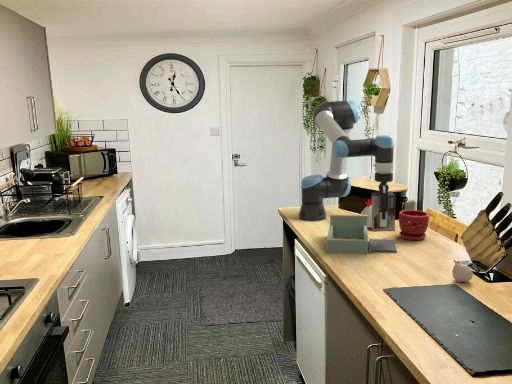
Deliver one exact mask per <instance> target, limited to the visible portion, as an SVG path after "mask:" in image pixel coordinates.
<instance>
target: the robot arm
mask: <svg viewBox="0 0 512 384" xmlns="http://www.w3.org/2000/svg"><path fill="white" fill-rule="evenodd" d="M359 119H360V112H359V108H358V105H357V104H356V102H355V101H354V100H336V101H334V100H331V101H322V102H321V103H320V104H318V105H317V106H316V107H315V108H314V110H313V112H312V121H313V123H314V125H315V126H316V128H318V129H321V131H322V132H323V133H324V135H325V136H326V137H327V139H328V140H329V141H330V143H331V150H330V151H331V152H330V161H329V162H330V163H329V170H328V171H327V172H326V176H323V175H322V174H311V175H307V176H305V177H303V178H302V179H301V186H300V187H301V206H300V208H299V213H298V218H299V220H302V221H309V222H316V221H317V222H319V221H323V220H326V219H327V212H326V209H325V205H324V199H333V198H334V199H335V198H343V197H347V196H348V195H349V194H350V192H351V187H352V181H351V178H350V177H349V174H348V173H347V172H346V171H347V170H346V169H347V160H348V158H358V157H374V163H373V167H374V171H375V173H374V181H375V182H377V183H379V184H378V191H379V193H380V195H381V210H379V212H380V227H387V196H388V192H389V187H390V186H389V184H388V183H391V182H393V180H394V173H393V172H394V151H395V150H394V148H395V143H394V136H392V135H390V134H389V135H386V134H383V135H381V134H380V135H376V137H375V138H374V137H369V138H368V137H367V138H364V139H351V138H350V134H351V133H350V131H351V130H353V129H354V124H357V123H359Z"/></svg>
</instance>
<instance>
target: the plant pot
mask: <svg viewBox="0 0 512 384" xmlns="http://www.w3.org/2000/svg"><path fill="white" fill-rule="evenodd" d="M398 213H399V214H398V224H399V225H398V226H399V228H400V231H399V235H400V237H401V238H403V239H405V240H407V241H409V240H411V241H420V240H423V239H425V238H426V236H427V234H426V231H427V230H428V226H429V222H430V214H429V212H426V211H422V210H415V209H409V210H406V209H405V210H401V211H399V212H398Z"/></svg>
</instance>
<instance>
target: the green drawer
mask: <svg viewBox="0 0 512 384" xmlns="http://www.w3.org/2000/svg"><path fill="white" fill-rule="evenodd" d="M329 217H330V218H329V227H328V234H327V238H326V254H341V255H363V256H364V255H365V256H367V255H368V254H369V249H368V248H369V240H368V239H369V238H368V237H369V234H368V230H367V218H368V215H361V214H347V213H346V214H345V213H344V214H341V213H340V214H338V213H335V214H334V213H330V214H329ZM341 238H342V239H341ZM344 238H345V239H344ZM347 238H352V239H347ZM353 238H354V239H353ZM356 238H357V239H356Z"/></svg>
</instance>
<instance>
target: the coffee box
mask: <svg viewBox="0 0 512 384" xmlns="http://www.w3.org/2000/svg"><path fill="white" fill-rule="evenodd" d="M371 198H372V229H373V230H372V231H373V232H395V230H396V229H395V228H396V194H394V192H393V191H390V192H389V191H388V196H387V227H380V212H379V210H381V195H380V193H379V192H371Z"/></svg>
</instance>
